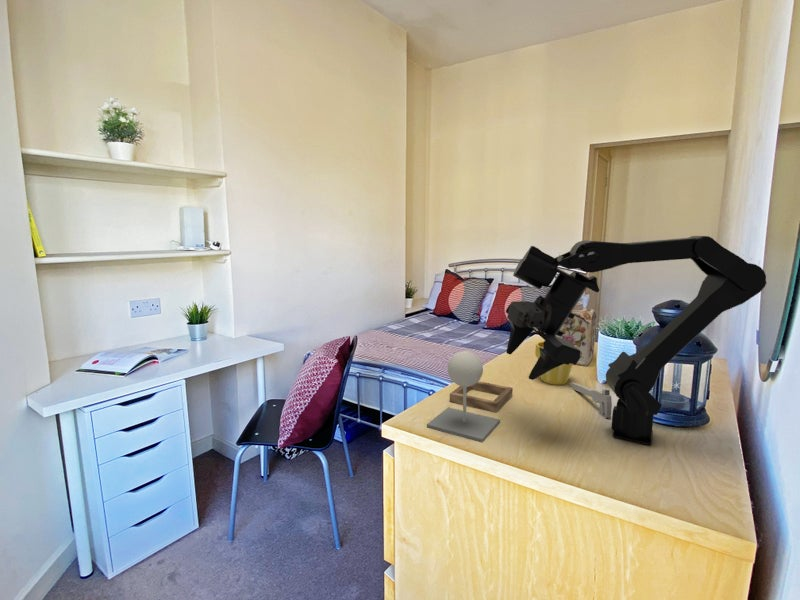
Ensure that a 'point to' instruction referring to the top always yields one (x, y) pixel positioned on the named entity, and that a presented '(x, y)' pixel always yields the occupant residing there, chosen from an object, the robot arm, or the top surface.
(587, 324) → the decorative jar
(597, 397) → the caliper
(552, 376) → the plant pot
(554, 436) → the top surface
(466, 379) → the lollipop
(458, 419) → the mat
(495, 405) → the brown wooden square frame
